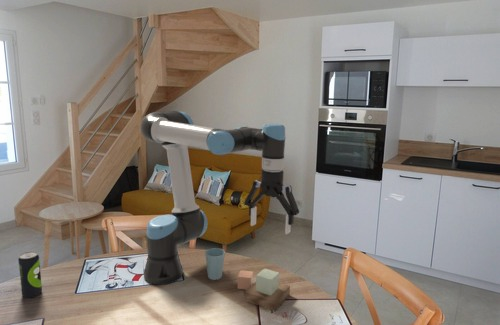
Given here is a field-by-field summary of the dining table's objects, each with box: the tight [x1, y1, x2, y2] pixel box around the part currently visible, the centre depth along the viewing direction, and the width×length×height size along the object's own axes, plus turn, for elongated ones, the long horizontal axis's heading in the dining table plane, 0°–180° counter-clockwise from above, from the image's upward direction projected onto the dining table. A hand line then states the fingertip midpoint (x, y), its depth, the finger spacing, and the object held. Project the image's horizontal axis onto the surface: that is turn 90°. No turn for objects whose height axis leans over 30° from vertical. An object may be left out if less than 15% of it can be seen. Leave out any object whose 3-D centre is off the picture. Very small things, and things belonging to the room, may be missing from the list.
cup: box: [204, 247, 226, 281], centre depth 148 cm, size 8×8×10 cm
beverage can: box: [18, 250, 43, 299], centre depth 132 cm, size 6×6×15 cm
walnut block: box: [244, 281, 291, 312], centre depth 134 cm, size 12×12×4 cm
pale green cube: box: [255, 267, 280, 296], centre depth 133 cm, size 6×6×6 cm
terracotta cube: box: [237, 269, 254, 291], centre depth 142 cm, size 5×5×5 cm
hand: (270, 228), depth 131 cm, fingers open, 13 cm apart
